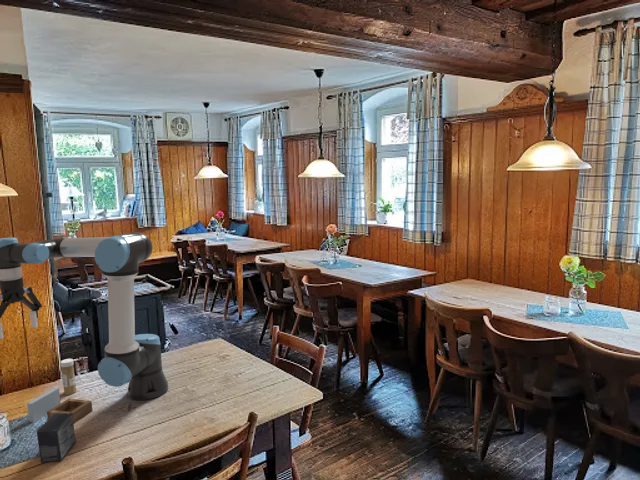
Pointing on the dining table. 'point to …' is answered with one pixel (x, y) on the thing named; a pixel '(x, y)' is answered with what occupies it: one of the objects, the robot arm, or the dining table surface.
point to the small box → (56, 437)
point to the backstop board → (43, 404)
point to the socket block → (72, 409)
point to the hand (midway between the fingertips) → (18, 332)
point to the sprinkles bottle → (68, 376)
